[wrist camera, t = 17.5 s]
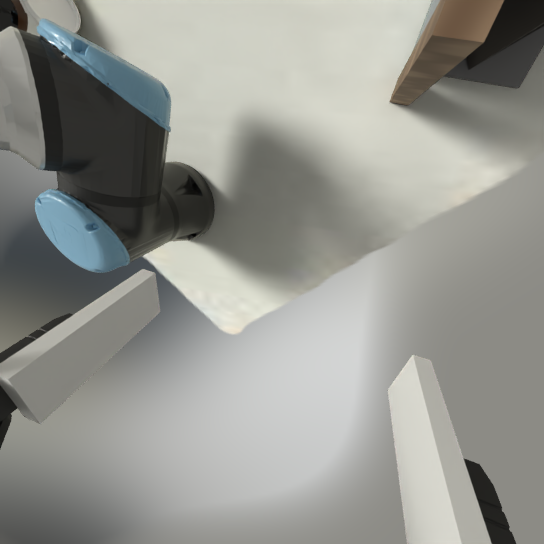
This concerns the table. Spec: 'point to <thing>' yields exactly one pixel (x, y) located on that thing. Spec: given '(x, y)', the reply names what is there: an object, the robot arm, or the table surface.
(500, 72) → the mat
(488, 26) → the door frame
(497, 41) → the phone stand
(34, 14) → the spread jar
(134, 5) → the table surface
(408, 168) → the table surface
